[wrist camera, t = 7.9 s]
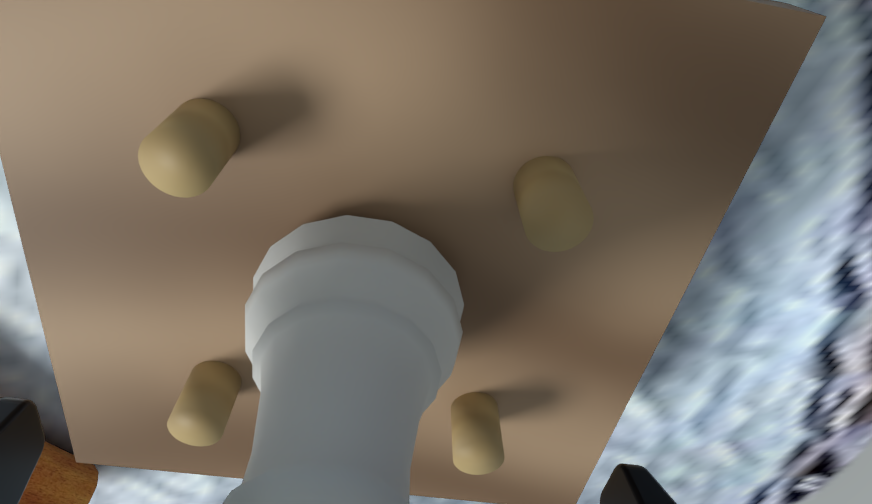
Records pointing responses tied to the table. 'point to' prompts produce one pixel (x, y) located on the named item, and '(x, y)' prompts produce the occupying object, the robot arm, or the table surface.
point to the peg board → (378, 201)
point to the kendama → (60, 479)
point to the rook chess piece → (345, 360)
